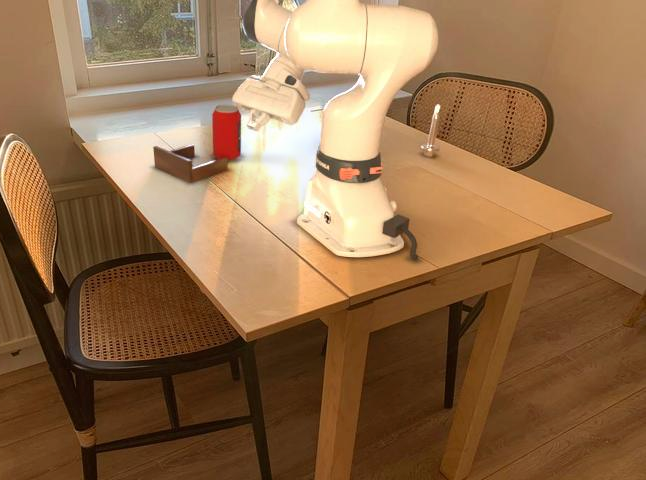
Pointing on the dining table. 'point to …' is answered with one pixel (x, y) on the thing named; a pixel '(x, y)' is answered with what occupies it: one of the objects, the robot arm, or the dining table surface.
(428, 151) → the screw
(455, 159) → the dining table surface
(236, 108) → the beverage can
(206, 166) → the bay
